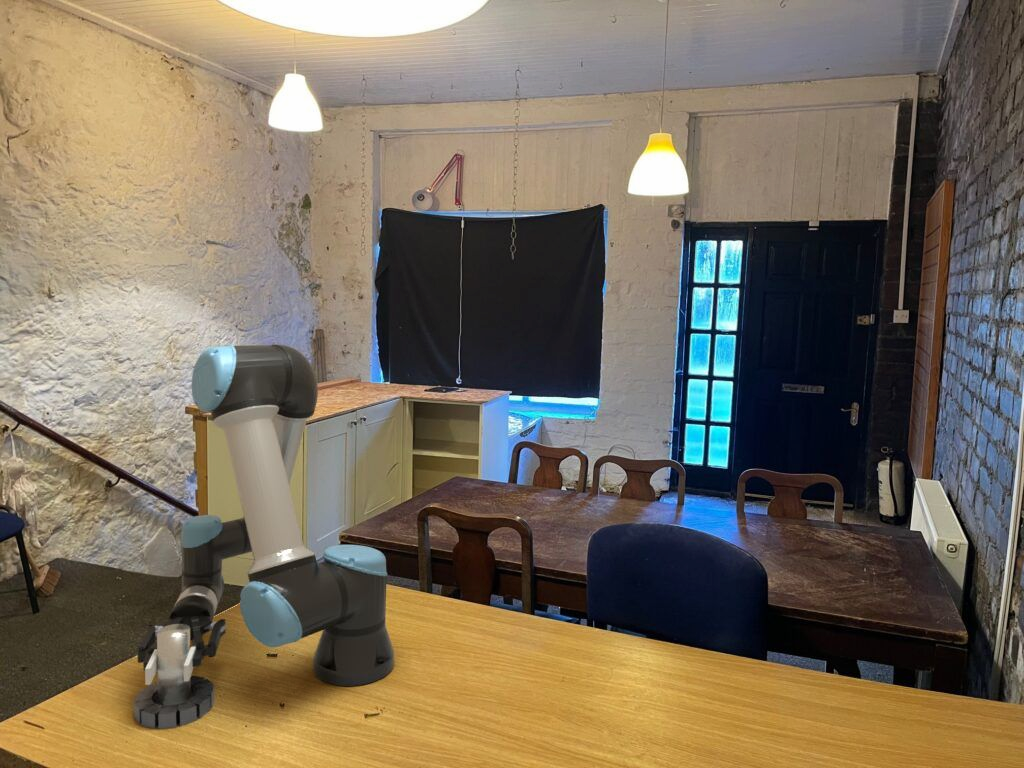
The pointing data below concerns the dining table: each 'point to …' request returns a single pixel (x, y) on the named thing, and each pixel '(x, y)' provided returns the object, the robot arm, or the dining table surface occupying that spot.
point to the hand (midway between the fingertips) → (167, 674)
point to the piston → (173, 664)
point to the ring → (172, 715)
